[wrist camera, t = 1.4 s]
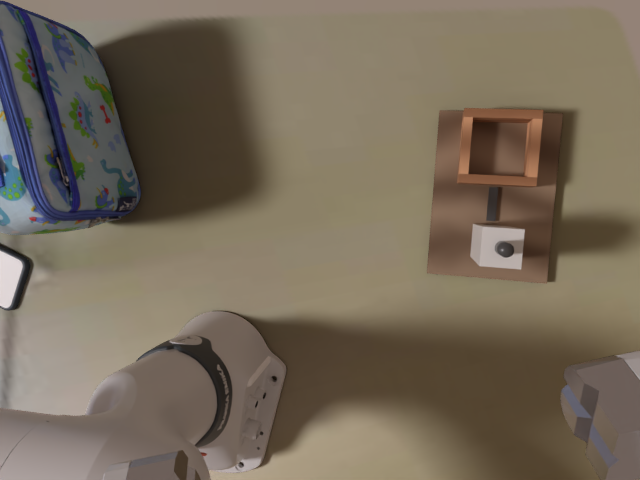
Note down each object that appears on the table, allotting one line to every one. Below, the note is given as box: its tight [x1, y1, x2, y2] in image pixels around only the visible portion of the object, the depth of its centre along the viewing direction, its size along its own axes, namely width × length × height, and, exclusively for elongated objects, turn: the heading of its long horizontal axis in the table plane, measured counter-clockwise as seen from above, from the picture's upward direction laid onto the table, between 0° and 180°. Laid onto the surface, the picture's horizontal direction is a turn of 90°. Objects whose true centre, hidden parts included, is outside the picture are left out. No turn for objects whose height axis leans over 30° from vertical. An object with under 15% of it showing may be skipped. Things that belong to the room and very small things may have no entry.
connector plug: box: [470, 224, 525, 270], centre depth 55 cm, size 4×4×14 cm
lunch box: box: [0, 1, 141, 235], centre depth 62 cm, size 26×11×21 cm, turn 15°
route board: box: [427, 108, 563, 283], centre depth 60 cm, size 20×14×4 cm
